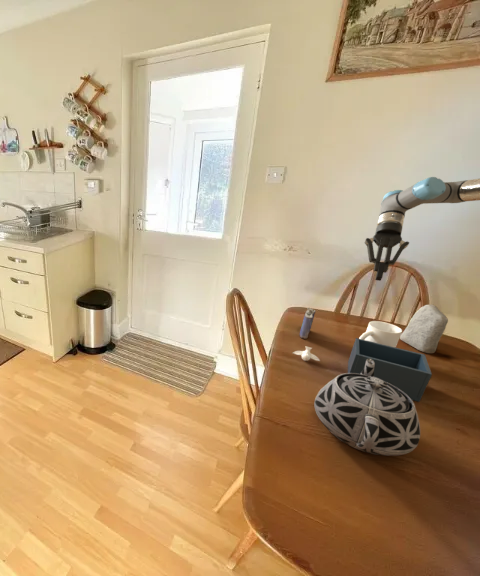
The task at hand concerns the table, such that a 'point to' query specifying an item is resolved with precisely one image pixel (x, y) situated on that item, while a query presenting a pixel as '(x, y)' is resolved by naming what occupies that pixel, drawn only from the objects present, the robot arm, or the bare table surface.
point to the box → (392, 366)
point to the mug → (382, 333)
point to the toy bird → (306, 354)
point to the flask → (307, 323)
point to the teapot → (369, 413)
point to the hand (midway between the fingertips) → (378, 278)
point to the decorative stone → (425, 329)
